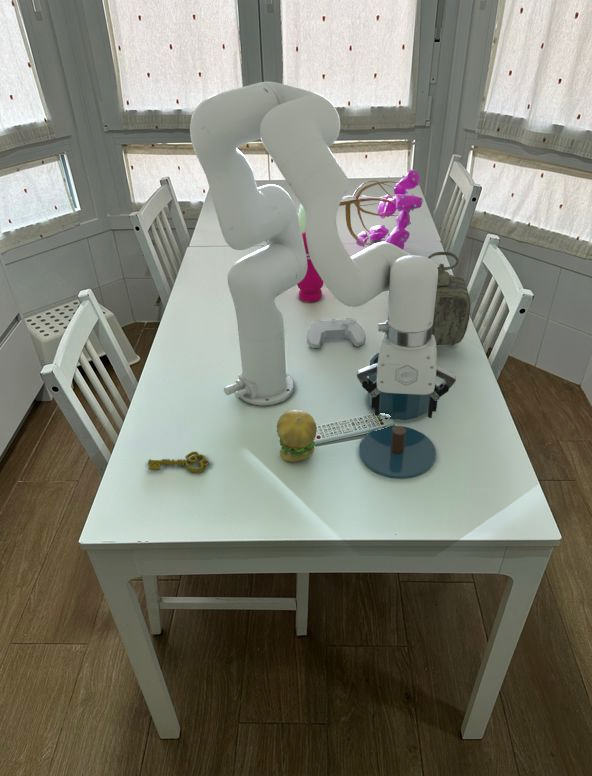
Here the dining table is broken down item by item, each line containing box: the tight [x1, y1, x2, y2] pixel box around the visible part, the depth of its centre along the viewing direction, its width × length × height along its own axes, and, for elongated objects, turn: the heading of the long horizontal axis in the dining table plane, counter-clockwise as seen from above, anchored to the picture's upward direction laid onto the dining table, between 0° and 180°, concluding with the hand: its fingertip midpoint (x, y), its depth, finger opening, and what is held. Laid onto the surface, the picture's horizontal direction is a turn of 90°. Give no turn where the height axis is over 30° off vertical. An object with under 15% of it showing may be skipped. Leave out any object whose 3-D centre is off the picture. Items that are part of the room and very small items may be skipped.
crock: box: [366, 352, 429, 421], centre depth 133 cm, size 14×14×10 cm
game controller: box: [306, 317, 367, 349], centre depth 154 cm, size 14×4×10 cm
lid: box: [358, 425, 437, 480], centre depth 121 cm, size 15×15×6 cm
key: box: [148, 451, 210, 474], centre depth 122 cm, size 12×1×5 cm
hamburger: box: [276, 409, 318, 463], centre depth 119 cm, size 8×7×12 cm
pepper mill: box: [296, 232, 324, 303], centre depth 167 cm, size 7×7×20 cm
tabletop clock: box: [427, 251, 471, 346], centre depth 143 cm, size 14×9×25 cm, turn 86°
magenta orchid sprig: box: [297, 169, 424, 250], centre depth 191 cm, size 30×28×35 cm
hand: (403, 412), depth 116 cm, fingers open, 9 cm apart
